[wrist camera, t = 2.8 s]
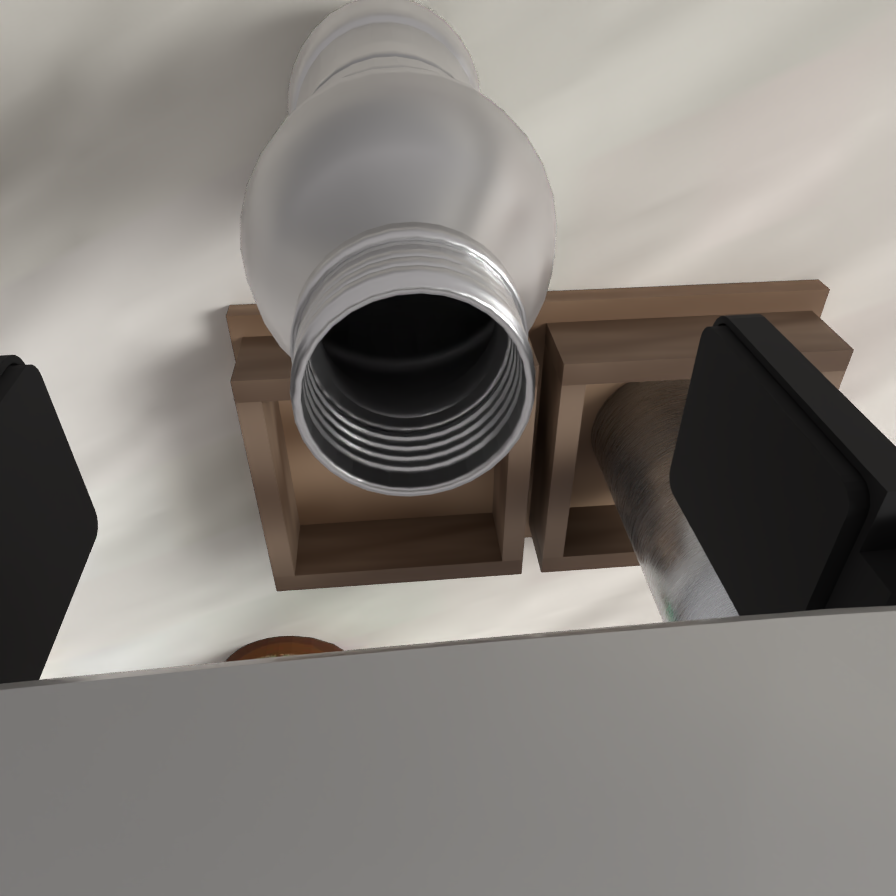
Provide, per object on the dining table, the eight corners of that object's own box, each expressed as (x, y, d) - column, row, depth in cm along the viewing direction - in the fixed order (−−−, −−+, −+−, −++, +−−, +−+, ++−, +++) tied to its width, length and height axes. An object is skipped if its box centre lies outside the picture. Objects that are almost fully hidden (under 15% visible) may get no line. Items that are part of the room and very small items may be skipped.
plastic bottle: (282, 167, 27) (170, 540, 12) (309, -41, 24) (195, 96, 8) (445, 206, 29) (543, 585, 13) (496, 16, 25) (721, 229, 9)
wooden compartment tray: (229, 305, 31) (211, 359, 27) (818, 279, 32) (874, 327, 29) (278, 540, 39) (269, 605, 36) (742, 510, 41) (777, 568, 37)
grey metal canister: (599, 372, 33) (775, 732, 19) (738, 365, 34) (1011, 711, 19) (583, 482, 37) (718, 846, 23) (707, 474, 38) (915, 826, 24)
